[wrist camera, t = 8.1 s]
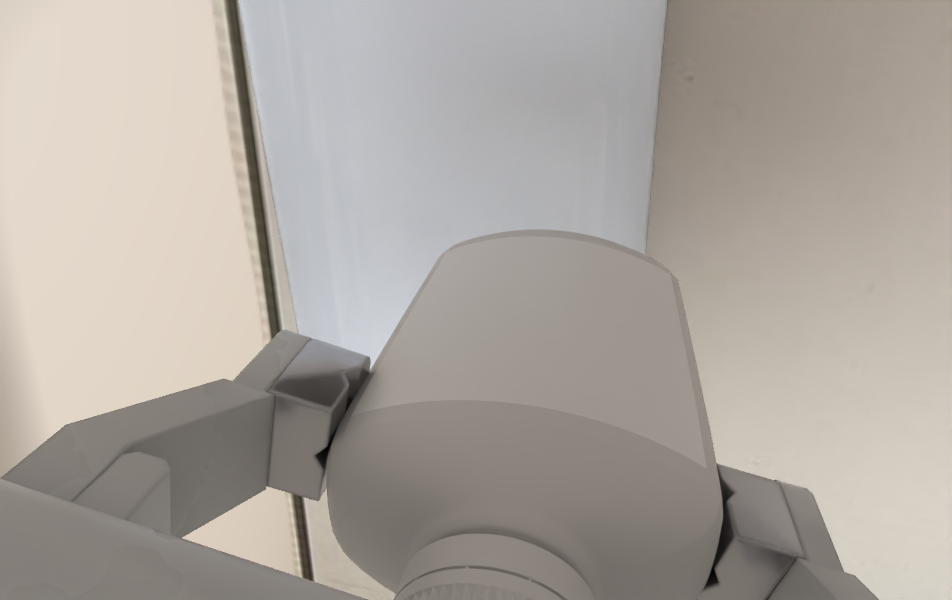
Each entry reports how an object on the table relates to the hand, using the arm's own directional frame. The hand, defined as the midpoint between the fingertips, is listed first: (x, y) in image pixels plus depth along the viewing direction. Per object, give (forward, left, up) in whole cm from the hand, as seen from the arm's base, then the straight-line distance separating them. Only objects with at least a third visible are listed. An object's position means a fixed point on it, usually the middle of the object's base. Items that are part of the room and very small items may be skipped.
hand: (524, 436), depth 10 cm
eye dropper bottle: (0, 0, -6) cm, 6 cm away
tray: (+5, -4, -21) cm, 22 cm away
